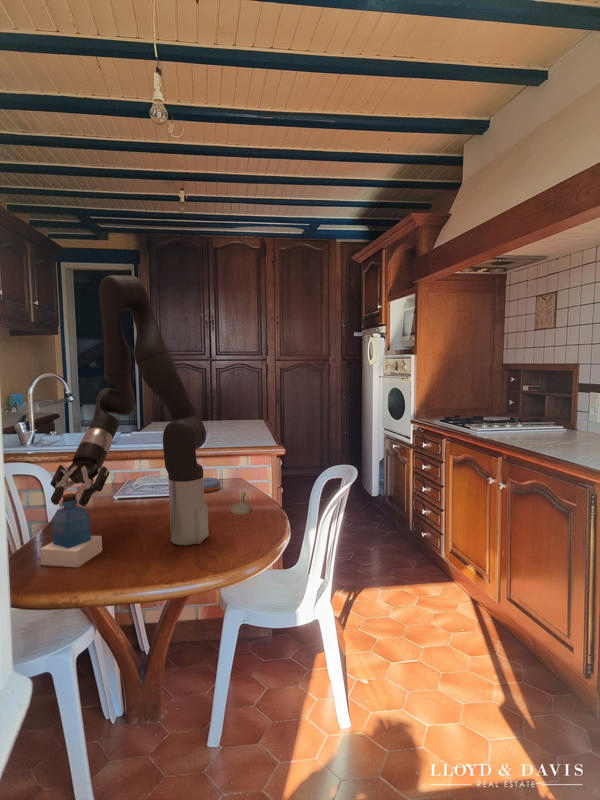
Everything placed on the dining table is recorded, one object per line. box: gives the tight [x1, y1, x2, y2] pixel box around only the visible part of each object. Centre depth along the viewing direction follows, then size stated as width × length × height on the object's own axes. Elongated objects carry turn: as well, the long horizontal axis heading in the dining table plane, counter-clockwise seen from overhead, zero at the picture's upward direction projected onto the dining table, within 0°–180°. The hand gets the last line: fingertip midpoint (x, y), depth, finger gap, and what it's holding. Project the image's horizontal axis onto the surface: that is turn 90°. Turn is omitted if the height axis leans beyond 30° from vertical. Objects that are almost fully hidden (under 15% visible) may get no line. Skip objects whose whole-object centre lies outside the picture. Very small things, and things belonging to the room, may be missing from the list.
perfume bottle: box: [51, 492, 92, 548], centre depth 122 cm, size 6×6×12 cm
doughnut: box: [203, 477, 221, 494], centre depth 184 cm, size 10×10×5 cm
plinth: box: [39, 535, 103, 568], centre depth 123 cm, size 10×10×4 cm
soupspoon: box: [230, 491, 252, 515], centre depth 165 cm, size 22×3×7 cm
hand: (67, 504), depth 121 cm, fingers open, 7 cm apart
